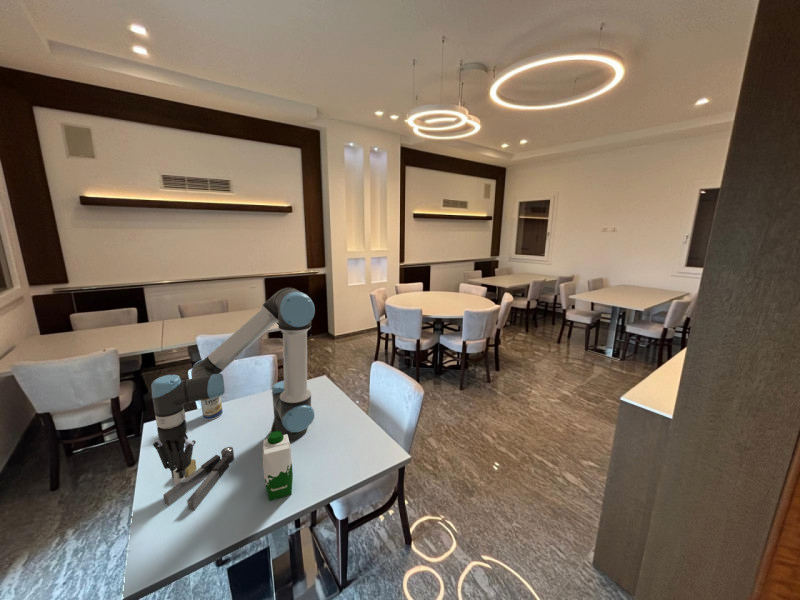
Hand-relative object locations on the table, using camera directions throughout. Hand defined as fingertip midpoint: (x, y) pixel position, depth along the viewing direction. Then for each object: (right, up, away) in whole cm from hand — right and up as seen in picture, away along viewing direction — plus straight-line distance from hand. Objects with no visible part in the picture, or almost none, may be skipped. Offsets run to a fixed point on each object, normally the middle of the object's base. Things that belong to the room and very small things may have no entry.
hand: (180, 485), depth 105 cm
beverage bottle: (-15, +7, +43) cm, 46 cm away
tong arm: (+3, -1, +3) cm, 4 cm away
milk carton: (+34, -2, 0) cm, 34 cm away
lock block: (-3, 0, +7) cm, 8 cm away
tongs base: (+8, -1, +4) cm, 9 cm away
